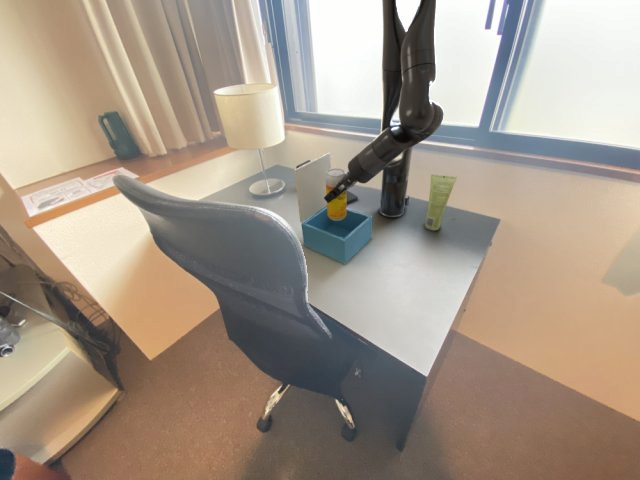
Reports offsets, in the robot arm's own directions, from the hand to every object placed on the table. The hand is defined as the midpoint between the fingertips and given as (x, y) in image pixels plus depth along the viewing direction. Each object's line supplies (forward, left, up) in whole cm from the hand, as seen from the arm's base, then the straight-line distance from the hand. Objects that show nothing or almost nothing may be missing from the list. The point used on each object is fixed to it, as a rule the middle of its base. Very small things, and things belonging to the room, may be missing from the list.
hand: (331, 195), depth 83 cm
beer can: (0, +2, -7) cm, 8 cm away
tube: (-26, +25, -18) cm, 40 cm away
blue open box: (0, +2, -18) cm, 18 cm away
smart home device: (-21, -15, -18) cm, 32 cm away
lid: (0, -6, +1) cm, 6 cm away
